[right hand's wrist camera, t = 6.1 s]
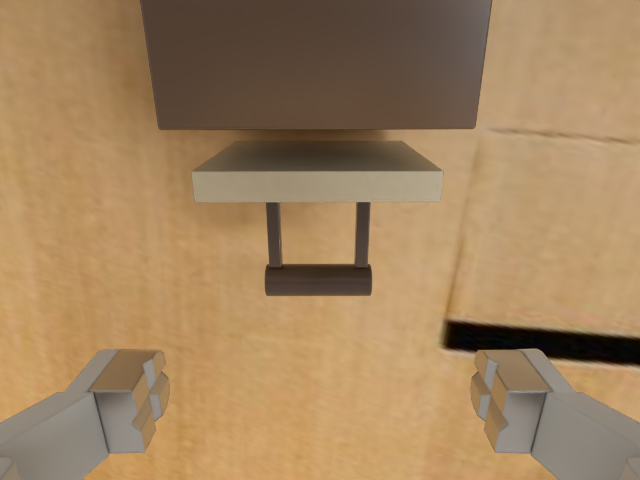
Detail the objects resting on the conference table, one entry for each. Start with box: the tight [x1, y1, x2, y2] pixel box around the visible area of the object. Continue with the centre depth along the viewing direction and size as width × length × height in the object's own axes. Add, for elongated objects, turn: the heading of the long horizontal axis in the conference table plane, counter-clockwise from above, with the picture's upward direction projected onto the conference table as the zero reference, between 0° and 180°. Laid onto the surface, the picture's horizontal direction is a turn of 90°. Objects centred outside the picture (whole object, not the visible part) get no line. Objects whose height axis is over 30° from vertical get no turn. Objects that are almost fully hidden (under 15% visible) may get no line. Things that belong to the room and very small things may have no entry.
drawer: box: [191, 141, 444, 296], centre depth 17 cm, size 24×9×8 cm, turn 0°
